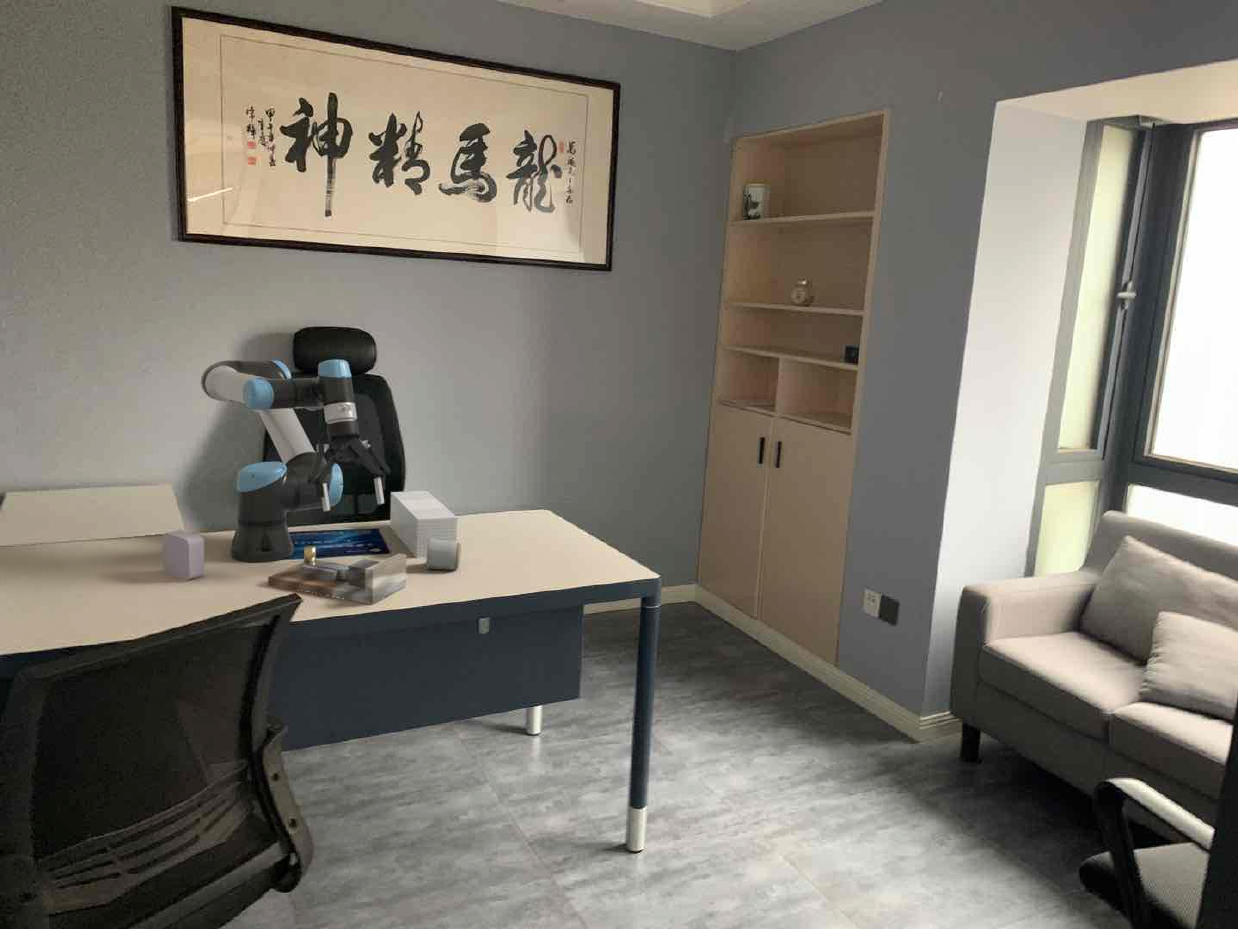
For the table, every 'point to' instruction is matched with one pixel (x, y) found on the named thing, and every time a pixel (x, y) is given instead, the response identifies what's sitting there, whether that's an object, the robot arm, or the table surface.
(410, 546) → the stack of papers
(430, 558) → the ceramic mug
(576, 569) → the table surface
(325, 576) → the lock board
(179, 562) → the electronic device
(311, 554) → the bolt
